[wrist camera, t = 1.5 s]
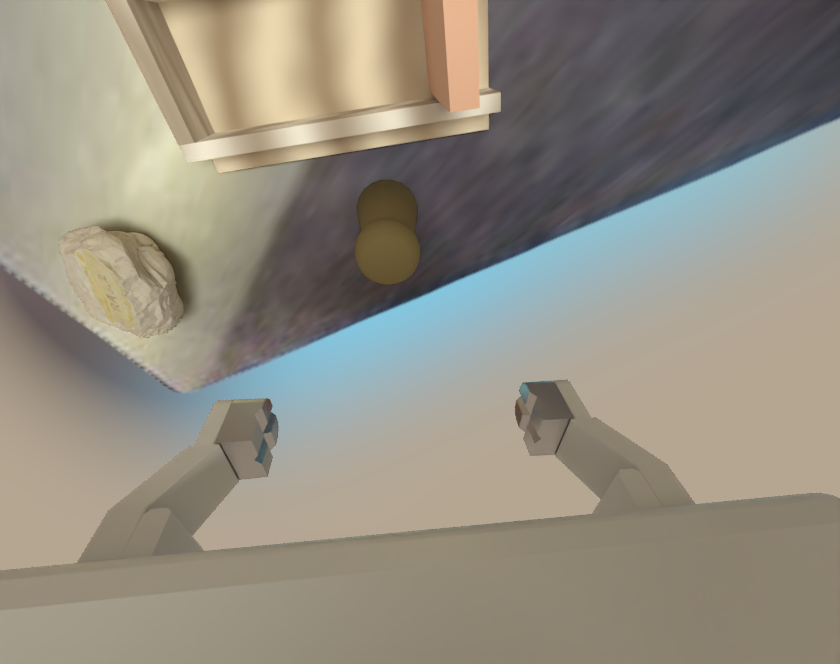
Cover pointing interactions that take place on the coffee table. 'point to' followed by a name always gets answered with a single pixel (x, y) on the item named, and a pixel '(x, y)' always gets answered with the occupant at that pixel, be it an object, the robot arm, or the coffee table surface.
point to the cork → (387, 233)
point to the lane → (293, 76)
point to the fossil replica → (122, 279)
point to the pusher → (452, 52)
